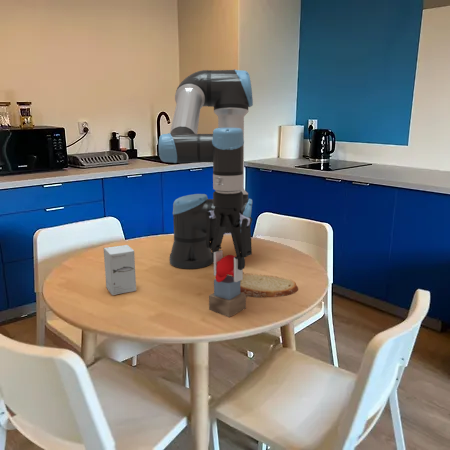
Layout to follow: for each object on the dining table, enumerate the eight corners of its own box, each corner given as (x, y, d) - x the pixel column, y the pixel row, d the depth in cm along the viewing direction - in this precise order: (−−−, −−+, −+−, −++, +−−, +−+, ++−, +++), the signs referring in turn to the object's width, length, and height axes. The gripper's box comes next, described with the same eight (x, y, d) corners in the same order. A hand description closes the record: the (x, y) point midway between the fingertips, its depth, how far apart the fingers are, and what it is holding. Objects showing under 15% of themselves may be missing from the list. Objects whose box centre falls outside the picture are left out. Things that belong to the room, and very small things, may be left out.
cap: (228, 259, 124) (213, 252, 121) (244, 256, 121) (229, 249, 117) (224, 287, 121) (208, 281, 117) (241, 285, 118) (226, 279, 114)
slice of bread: (303, 291, 134) (304, 279, 133) (258, 307, 123) (259, 294, 123) (261, 274, 148) (262, 263, 147) (218, 287, 137) (218, 276, 136)
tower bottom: (209, 310, 121) (208, 295, 120) (225, 302, 127) (225, 287, 125) (229, 318, 117) (229, 302, 116) (245, 309, 122) (245, 293, 121)
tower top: (214, 295, 120) (214, 279, 119) (224, 289, 124) (224, 274, 123) (229, 300, 117) (229, 283, 116) (240, 293, 121) (240, 277, 120)
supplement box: (112, 296, 130) (108, 254, 127) (105, 287, 137) (102, 247, 133) (137, 291, 133) (134, 250, 130) (129, 283, 140) (127, 243, 137)
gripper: (190, 188, 117) (192, 273, 123) (249, 197, 105) (248, 290, 111) (209, 184, 122) (210, 265, 128) (268, 193, 111) (266, 281, 116)
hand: (228, 277), depth 120 cm, fingers closed on cap, 6 cm apart
